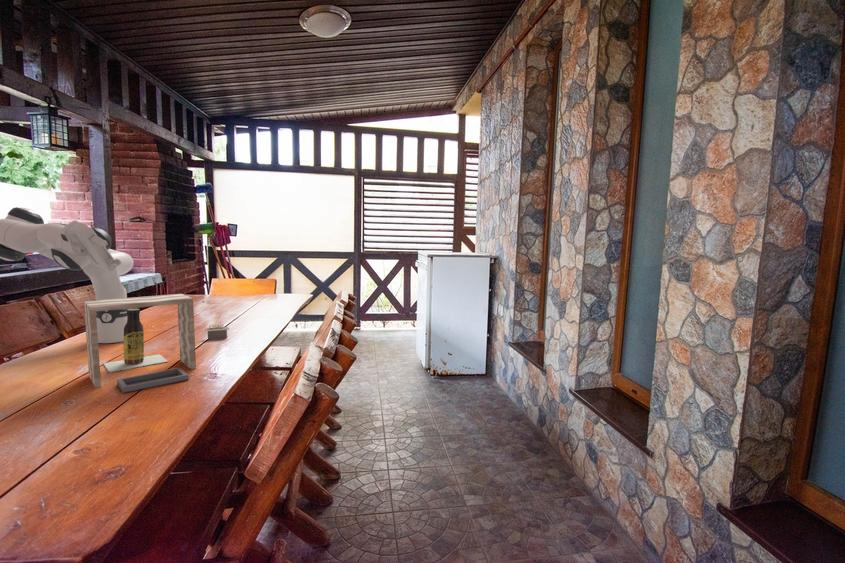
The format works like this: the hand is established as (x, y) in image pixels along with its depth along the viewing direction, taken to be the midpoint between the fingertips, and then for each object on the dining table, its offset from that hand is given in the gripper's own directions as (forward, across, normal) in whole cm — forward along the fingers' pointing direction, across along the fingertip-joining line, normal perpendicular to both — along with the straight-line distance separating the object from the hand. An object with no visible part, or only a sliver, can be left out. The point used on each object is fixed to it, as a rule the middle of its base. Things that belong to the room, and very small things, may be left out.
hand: (112, 253), depth 149 cm
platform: (+13, -60, +9) cm, 62 cm away
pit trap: (+32, -20, -29) cm, 48 cm away
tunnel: (+21, -27, -25) cm, 43 cm away
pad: (+10, -34, -21) cm, 41 cm away
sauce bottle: (+10, -33, -22) cm, 41 cm away
